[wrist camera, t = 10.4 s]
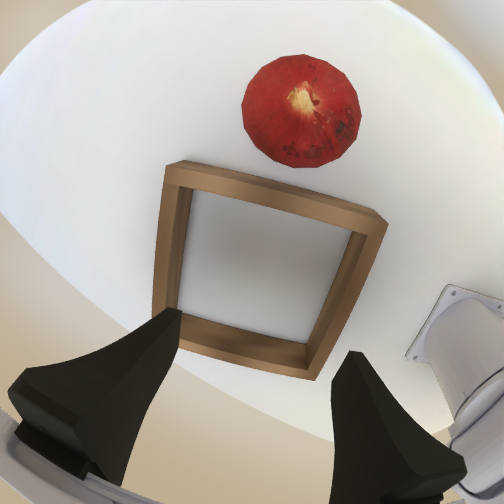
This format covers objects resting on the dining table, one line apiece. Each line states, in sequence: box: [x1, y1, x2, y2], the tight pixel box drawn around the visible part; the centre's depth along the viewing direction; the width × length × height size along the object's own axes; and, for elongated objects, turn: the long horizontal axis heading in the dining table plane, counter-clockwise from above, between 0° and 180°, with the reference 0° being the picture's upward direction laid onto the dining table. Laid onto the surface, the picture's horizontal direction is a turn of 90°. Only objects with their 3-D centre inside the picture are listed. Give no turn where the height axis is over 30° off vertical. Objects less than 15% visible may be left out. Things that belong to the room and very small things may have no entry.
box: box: [152, 160, 388, 381], centre depth 19 cm, size 13×13×3 cm
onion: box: [241, 54, 362, 168], centre depth 12 cm, size 6×6×8 cm
